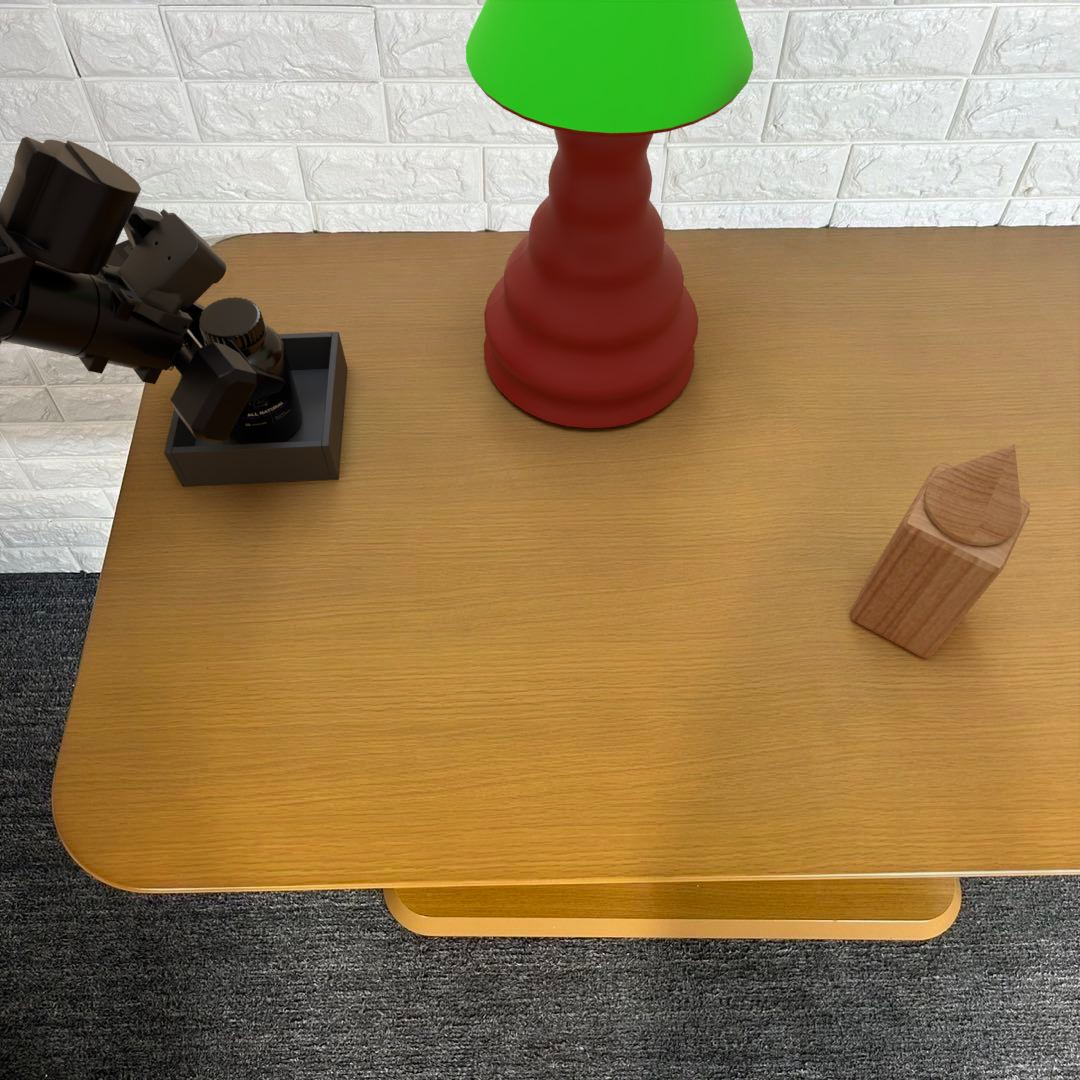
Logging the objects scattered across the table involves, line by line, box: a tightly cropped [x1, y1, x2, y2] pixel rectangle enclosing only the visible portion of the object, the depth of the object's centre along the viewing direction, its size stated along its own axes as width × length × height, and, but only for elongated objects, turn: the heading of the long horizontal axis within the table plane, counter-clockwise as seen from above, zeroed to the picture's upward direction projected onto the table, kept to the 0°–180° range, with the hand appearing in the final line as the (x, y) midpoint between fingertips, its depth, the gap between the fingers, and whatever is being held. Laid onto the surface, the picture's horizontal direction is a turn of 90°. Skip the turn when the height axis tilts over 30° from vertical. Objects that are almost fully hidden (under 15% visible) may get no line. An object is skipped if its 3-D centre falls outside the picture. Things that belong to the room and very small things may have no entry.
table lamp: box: [465, 0, 754, 429], centre depth 66 cm, size 20×20×45 cm
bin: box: [163, 331, 348, 487], centre depth 78 cm, size 13×13×4 cm
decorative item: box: [849, 443, 1031, 659], centre depth 61 cm, size 7×7×20 cm
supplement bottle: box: [198, 296, 302, 444], centre depth 74 cm, size 7×7×12 cm
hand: (260, 360), depth 74 cm, fingers closed on supplement bottle, 7 cm apart
